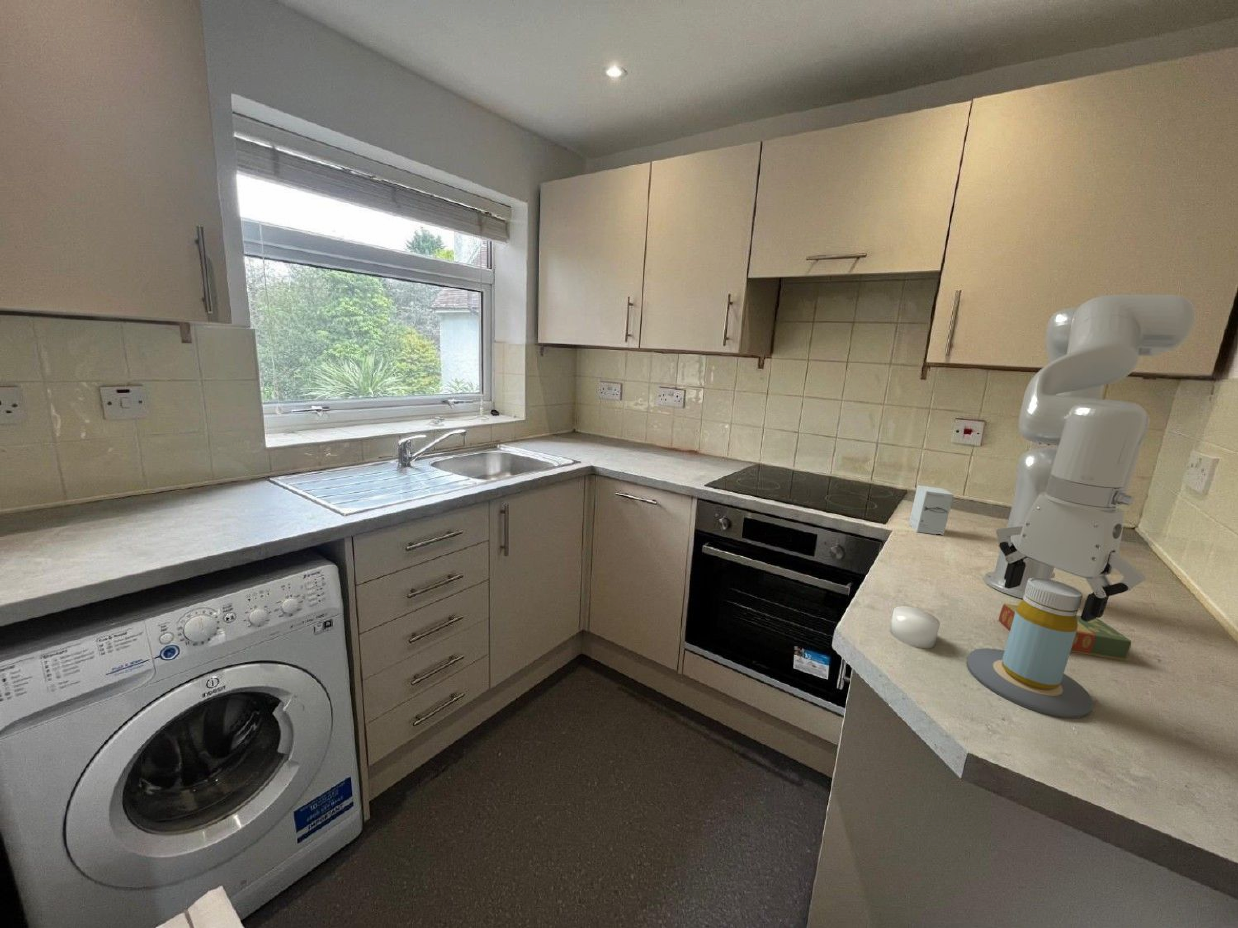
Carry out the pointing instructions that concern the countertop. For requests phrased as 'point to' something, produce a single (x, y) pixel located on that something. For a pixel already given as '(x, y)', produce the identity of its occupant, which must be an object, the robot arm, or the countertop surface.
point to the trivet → (1055, 702)
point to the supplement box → (930, 510)
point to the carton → (1085, 636)
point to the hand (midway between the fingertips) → (1048, 601)
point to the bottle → (1042, 633)
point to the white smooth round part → (914, 627)
